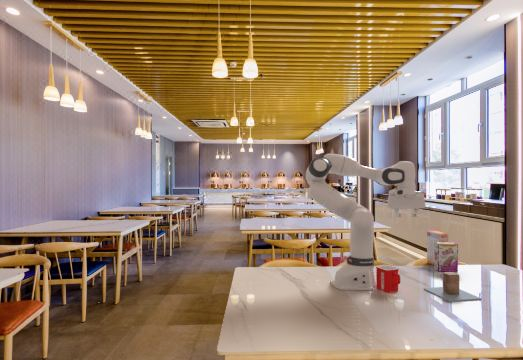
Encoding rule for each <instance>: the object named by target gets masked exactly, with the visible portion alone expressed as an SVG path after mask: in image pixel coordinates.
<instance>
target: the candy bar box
mask: <svg viewBox="0 0 523 360" xmlns="http://www.w3.org/2000/svg"><path fill="white" fill-rule="evenodd" d="M458 262H459V244H458V243H455V242H448V243H446V242H435V260H434V265H433V266H434V270H435V271H436V272H440V273H441V272H442V273H443V272H454V273H458V272H459V270H458V269H459V265H458V264H459V263H458Z"/></svg>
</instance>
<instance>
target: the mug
mask: <svg viewBox="0 0 523 360" xmlns="http://www.w3.org/2000/svg"><path fill="white" fill-rule="evenodd" d="M375 269H376V271H375V272H376V275H375V276H376V279H375V282H376V285H377V286H376V289H377V290H379V291H381V292H384V293H387V294H389V293H396V292H399V284H401V275H400V274H399V270H400V269H399V268H398V267H396V266H393V265H390V264H382V265H379V264H378V265H376V266H375Z"/></svg>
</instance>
